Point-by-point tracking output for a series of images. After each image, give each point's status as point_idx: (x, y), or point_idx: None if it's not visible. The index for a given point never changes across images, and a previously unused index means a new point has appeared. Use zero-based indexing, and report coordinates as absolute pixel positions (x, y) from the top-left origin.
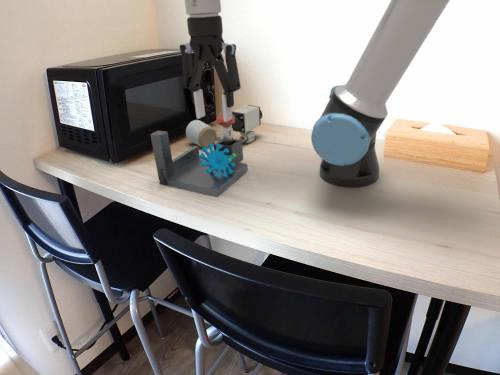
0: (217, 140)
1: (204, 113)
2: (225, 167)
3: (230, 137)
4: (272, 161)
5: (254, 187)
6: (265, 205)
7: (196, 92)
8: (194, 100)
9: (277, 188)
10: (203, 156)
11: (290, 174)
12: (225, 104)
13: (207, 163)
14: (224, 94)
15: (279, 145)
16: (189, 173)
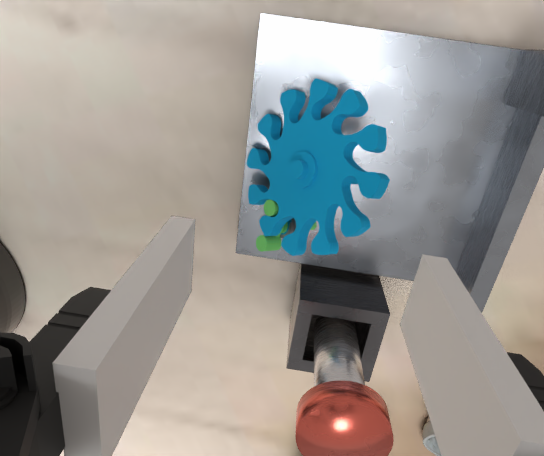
0: (429, 422)
1: (405, 329)
2: (272, 158)
3: (317, 351)
4: (188, 317)
5: (165, 127)
6: (70, 6)
7: (513, 441)
8: (510, 360)
9: (89, 140)
10: (362, 133)
11: (95, 242)
12: (113, 291)
13: (335, 113)
14: (16, 338)
15: (213, 419)
16: (436, 130)
